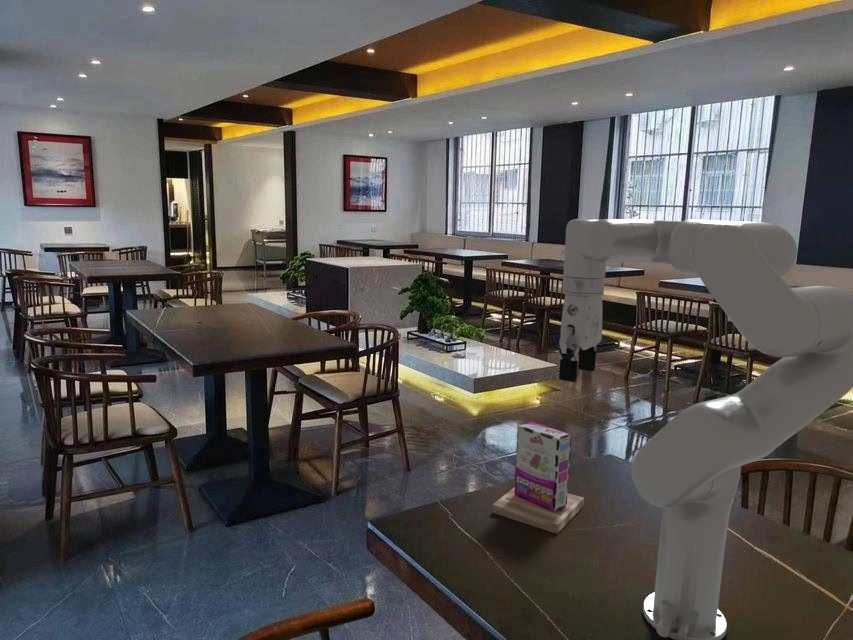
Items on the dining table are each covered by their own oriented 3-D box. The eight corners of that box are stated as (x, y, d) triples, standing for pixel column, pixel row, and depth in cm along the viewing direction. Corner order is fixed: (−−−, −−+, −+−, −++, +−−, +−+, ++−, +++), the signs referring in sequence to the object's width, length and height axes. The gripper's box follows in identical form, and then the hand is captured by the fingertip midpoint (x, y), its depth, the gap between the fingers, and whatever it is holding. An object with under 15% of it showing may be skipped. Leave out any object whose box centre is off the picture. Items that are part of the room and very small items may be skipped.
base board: (557, 533, 129) (557, 523, 128) (492, 512, 137) (492, 503, 136) (583, 506, 141) (584, 497, 140) (522, 488, 149) (523, 479, 149)
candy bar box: (568, 505, 136) (572, 433, 133) (554, 513, 133) (559, 439, 130) (527, 488, 144) (530, 420, 141) (513, 494, 141) (516, 424, 138)
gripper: (586, 292, 108) (579, 389, 111) (617, 283, 122) (611, 369, 125) (545, 288, 112) (540, 381, 115) (580, 280, 126) (575, 363, 129)
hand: (577, 375), depth 120 cm, fingers open, 9 cm apart
